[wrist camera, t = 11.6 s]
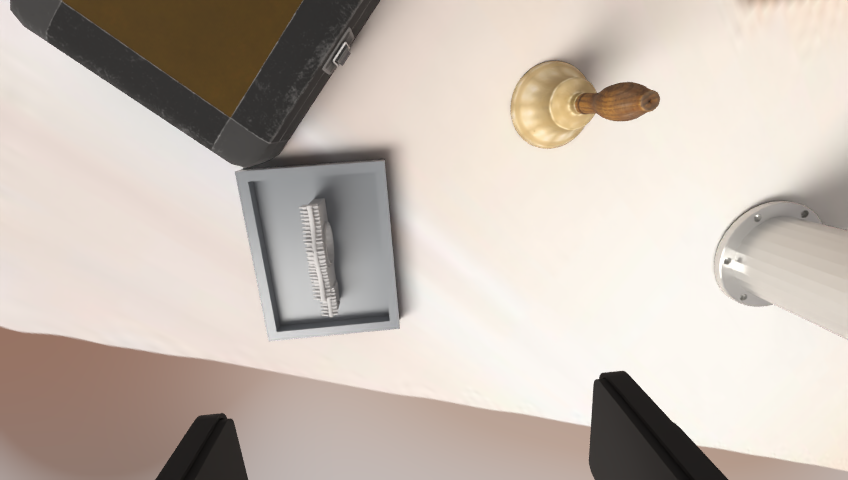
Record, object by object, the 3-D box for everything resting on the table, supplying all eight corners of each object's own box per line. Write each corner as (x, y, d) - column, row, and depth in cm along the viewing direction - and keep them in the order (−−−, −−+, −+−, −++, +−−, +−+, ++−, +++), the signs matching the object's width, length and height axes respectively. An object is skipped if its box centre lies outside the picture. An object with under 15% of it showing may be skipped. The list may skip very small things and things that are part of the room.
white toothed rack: (342, 303, 44) (335, 330, 38) (325, 304, 44) (316, 332, 38) (327, 194, 40) (317, 206, 35) (309, 195, 40) (296, 208, 35)
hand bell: (604, 79, 40) (736, 55, 25) (569, 159, 42) (671, 182, 27) (530, 47, 39) (621, 0, 23) (497, 131, 41) (561, 139, 25)
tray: (384, 159, 41) (384, 160, 39) (399, 319, 46) (399, 328, 44) (242, 169, 40) (234, 171, 38) (273, 331, 45) (268, 341, 43)
